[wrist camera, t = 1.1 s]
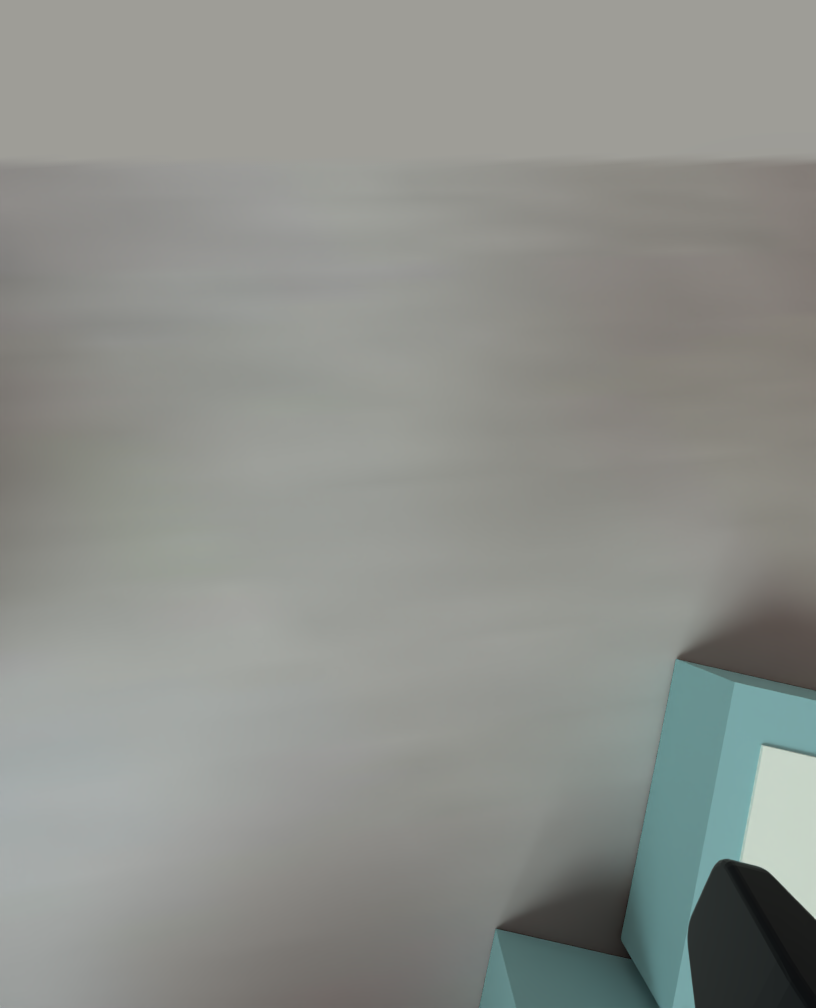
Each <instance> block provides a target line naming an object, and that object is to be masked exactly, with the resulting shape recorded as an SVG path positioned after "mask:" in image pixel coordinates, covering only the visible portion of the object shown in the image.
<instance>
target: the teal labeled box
mask: <svg viewBox="0 0 816 1008" xmlns="http://www.w3.org/2000/svg"><path fill="white" fill-rule="evenodd" d="M721 859H731V860H735V861H739V862H743V863H747V864H751V865H755V866H759V867H761V868H764V869H765V870H767V871H768V872H769V873H770V874H772V875H773V876H774V877H775V878H776V879H777V880H778V881H779V882H780V883H781V884H782V885H783V886H784V888H785V889H786V890H787V891H788V892H789V893H790V894H791V895H792V896H793V897H794V898H795V899H796V900H797V901H798V902H799V903H800V904H801V905H802V906H803V907H804V908H805V909H806V910H807V911H808V912H809V913H810V914H811V915H812V916H813V917H814V918H815V919H816V691H814V690H810V689H806V688H801V687H797V686H792V685H788V684H784V683H779V682H775V681H770V680H766V679H762V678H757V677H753V676H748V675H744V674H740V673H735V672H731V671H726V670H722V669H718V668H713V667H709V666H704V665H700V664H696V663H691V662H687V661H682V660H678V659H676V662H675V667H674V672H673V677H672V682H671V687H670V692H669V697H668V702H667V707H666V712H665V717H664V722H663V727H662V733H661V738H660V743H659V748H658V753H657V758H656V763H655V768H654V773H653V778H652V783H651V788H650V793H649V798H648V803H647V808H646V814H645V819H644V824H643V829H642V834H641V839H640V844H639V849H638V854H637V859H636V864H635V869H634V874H633V879H632V884H631V889H630V895H629V900H628V905H627V910H626V915H625V920H624V925H623V930H622V935H621V941H622V942H623V944H624V946H625V948H626V949H627V951H628V953H629V955H630V956H631V958H632V960H633V962H634V963H635V965H636V967H637V968H638V970H639V972H640V974H641V975H642V977H643V979H644V981H645V982H646V984H647V986H648V988H649V989H650V991H651V993H652V995H653V996H654V998H655V1000H656V1002H657V1003H658V1005H659V1007H660V1008H695V1003H694V995H693V987H692V978H691V970H690V962H689V953H688V943H687V934H688V926H689V921H690V918H691V915H692V913H693V910H694V908H695V906H696V904H697V902H698V899H699V897H700V895H701V893H702V890H703V888H704V886H705V884H706V882H707V879H708V877H709V875H710V873H711V870H712V869H713V867H714V865H715V864H716V863H717V862H718V861H719V860H721Z"/></svg>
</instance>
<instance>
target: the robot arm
mask: <svg viewBox="0 0 816 1008" xmlns="http://www.w3.org/2000/svg"><path fill="white" fill-rule="evenodd" d="M687 943H688V953H689V962H690V970H691V978H692V987H693V995H694V1003H695V1008H816V919H815V918H814V917H813V916H812V915H811V914H810V913H809V912H808V911H807V910H806V909H805V908H804V907H803V906H802V905H801V904H800V903H799V902H798V901H797V900H796V899H795V898H794V897H793V896H792V895H791V894H790V893H789V892H788V891H787V890H786V889H785V888H784V886H783V885H782V884H781V883H780V882H779V881H778V880H777V879H776V878H775V877H774V876H773V875H772V874H770V873H769V872H768V871H767V870H765V869H764V868H761V867H759V866H755V865H751V864H747V863H743V862H739V861H735V860H731V859H721V860H719V861H718V862H717V863H716V864H715V865H714V867H713V869H712V870H711V873H710V875H709V877H708V879H707V882H706V884H705V886H704V888H703V890H702V893H701V895H700V897H699V899H698V902H697V904H696V906H695V908H694V910H693V913H692V915H691V918H690V921H689V926H688V934H687Z"/></svg>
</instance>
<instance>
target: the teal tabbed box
mask: <svg viewBox="0 0 816 1008" xmlns="http://www.w3.org/2000/svg"><path fill="white" fill-rule="evenodd" d="M479 1008H660V1007H659V1005H658V1003H657V1002H656V1000H655V998H654V996H653V995H652V993H651V991H650V989H649V988H648V986H647V984H646V982H645V981H644V979H643V977H642V975H641V974H640V972H639V970H638V968H637V967H636V965H635V963H634V962H633V960H631V959H627V958H623V957H618V956H614V955H609V954H605V953H601V952H596V951H592V950H587V949H583V948H579V947H574V946H570V945H565V944H561V943H557V942H552V941H548V940H543V939H539V938H535V937H530V936H526V935H521V934H517V933H513V932H508V931H504V930H499V929H496V930H495V935H494V939H493V944H492V949H491V954H490V958H489V963H488V968H487V973H486V977H485V982H484V987H483V992H482V997H481V1001H480V1006H479Z"/></svg>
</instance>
